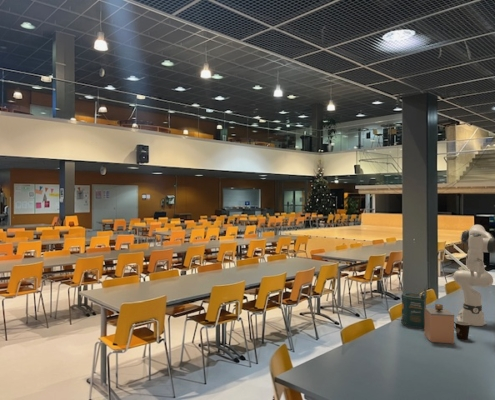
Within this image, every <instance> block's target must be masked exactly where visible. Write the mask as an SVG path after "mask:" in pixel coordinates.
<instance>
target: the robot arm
mask: <svg viewBox="0 0 495 400" xmlns="http://www.w3.org/2000/svg"><path fill="white" fill-rule="evenodd" d="M460 241H461V243H462V244H464V245H466V249H467V252H466V255H465V259H466V261H465V265H466V268H467V269H468V270H465V269H463V270H462V269H460V270H456V271H455V272H454V273H453V281H454V282H455V283H456V284H457V285H458V286H459V287H460V288H461V290H462V293H463V304H462V308H461V309H460V310H459V311H458V313H457V314H458V315H457V316H456V320H457V321H462V322H467V323H469V324H470V326H474V327H475V326H476V327H481V326H485V325H487V321H486V322H485V313H484V312H483V306H482V295H481V294H480V292H479V291H477V290H475V289H474V288H473V287H480V288H487V287H488V288H490V287H491V286H492V285H493V284H494V277H493V275H492V274H491V273H489V272H488V271H487V270H485V263H484V253H488V254H489V253H490V254H495V237H494V235H493V234H492V233H490V232H488V231H486V229H485V227H484V226H483V225H481V224H473V225H472V226H470V228H469V230H468V229H466V230H464V231H462V232H461V234H460Z"/></svg>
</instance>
